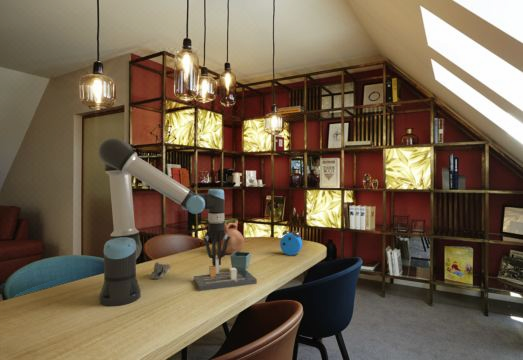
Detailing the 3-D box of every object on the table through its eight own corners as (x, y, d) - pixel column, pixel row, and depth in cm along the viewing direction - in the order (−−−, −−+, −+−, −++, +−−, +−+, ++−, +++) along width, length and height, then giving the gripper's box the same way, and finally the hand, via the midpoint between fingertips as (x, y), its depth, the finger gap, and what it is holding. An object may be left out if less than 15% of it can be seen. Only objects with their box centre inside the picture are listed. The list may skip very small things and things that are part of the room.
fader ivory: (231, 279, 144) (231, 270, 144) (229, 277, 147) (229, 268, 147) (236, 279, 145) (236, 269, 145) (234, 277, 148) (234, 267, 148)
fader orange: (210, 277, 147) (210, 267, 147) (208, 275, 150) (208, 266, 150) (215, 276, 148) (215, 267, 148) (214, 274, 151) (214, 265, 151)
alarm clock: (302, 254, 200) (302, 230, 200) (299, 256, 194) (299, 232, 194) (283, 252, 205) (283, 229, 205) (279, 254, 200) (279, 230, 200)
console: (199, 290, 136) (199, 284, 136) (193, 280, 150) (193, 274, 150) (256, 283, 146) (256, 277, 146) (246, 274, 160) (246, 269, 160)
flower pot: (246, 274, 160) (246, 256, 160) (229, 273, 162) (229, 255, 161) (251, 269, 168) (250, 252, 168) (234, 268, 170) (234, 251, 170)
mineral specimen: (154, 286, 157) (171, 282, 154) (143, 279, 152) (160, 275, 149) (159, 268, 164) (175, 264, 160) (149, 261, 159) (165, 256, 155)
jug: (229, 248, 219) (228, 218, 219) (249, 251, 208) (249, 221, 208) (209, 253, 204) (209, 221, 204) (231, 257, 193) (231, 224, 193)
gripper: (204, 223, 144) (204, 276, 144) (232, 222, 149) (232, 272, 149) (201, 221, 151) (201, 271, 151) (227, 220, 156) (227, 268, 156)
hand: (216, 272), depth 150 cm, fingers closed
